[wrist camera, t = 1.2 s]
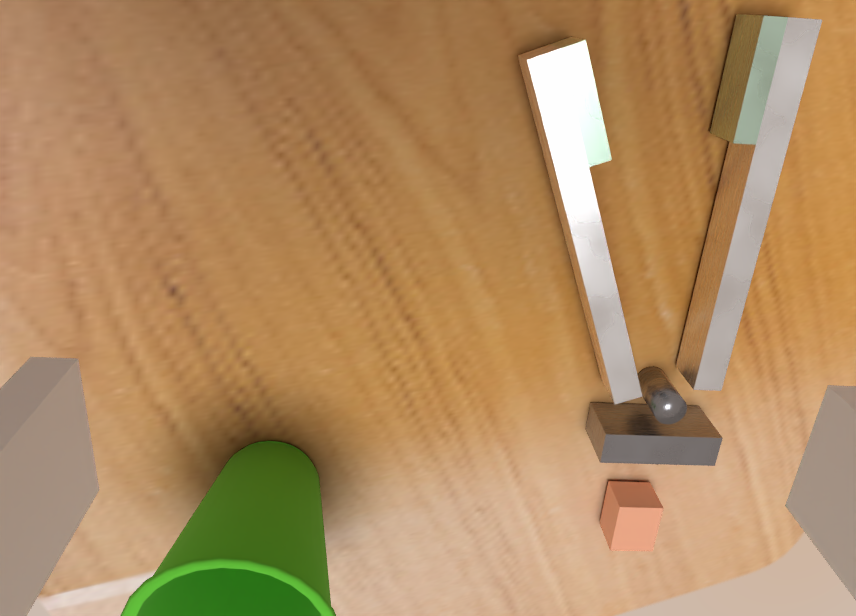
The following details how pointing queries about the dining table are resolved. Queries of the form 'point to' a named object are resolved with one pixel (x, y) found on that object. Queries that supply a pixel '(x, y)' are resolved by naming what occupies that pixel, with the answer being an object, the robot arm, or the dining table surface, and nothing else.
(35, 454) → the robot arm
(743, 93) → the tongs base
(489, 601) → the dining table surface
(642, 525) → the tab
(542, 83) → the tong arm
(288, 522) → the cup
